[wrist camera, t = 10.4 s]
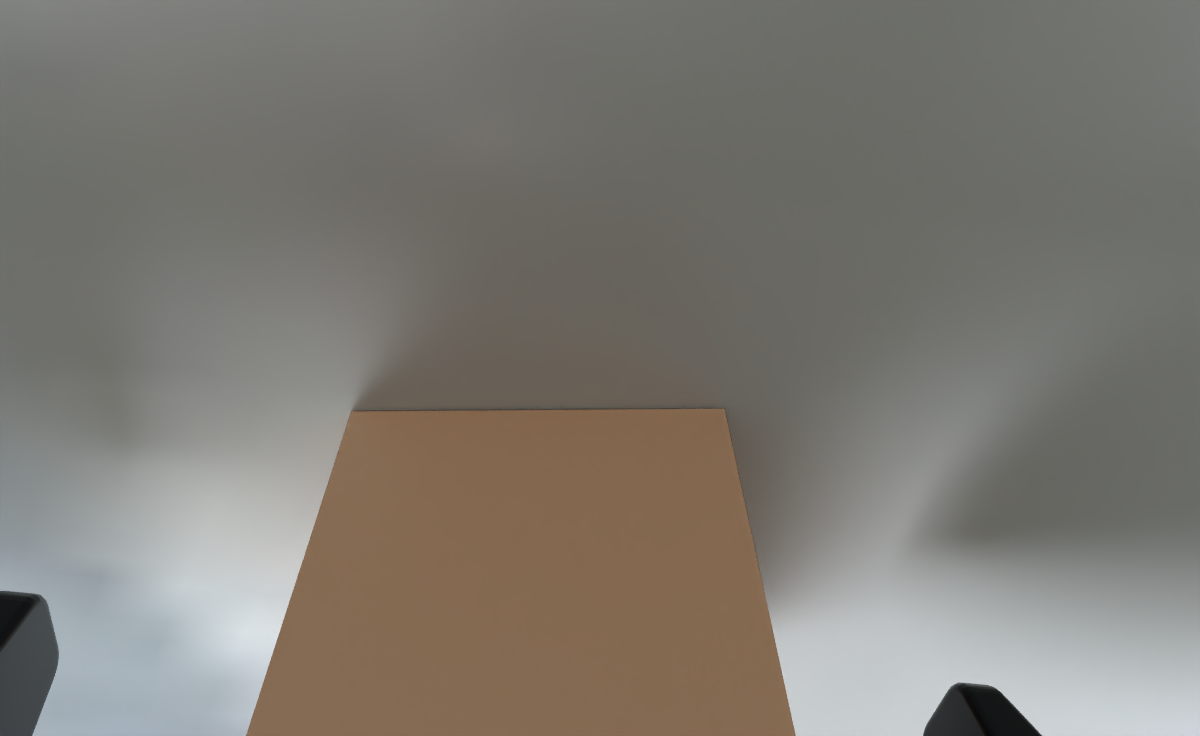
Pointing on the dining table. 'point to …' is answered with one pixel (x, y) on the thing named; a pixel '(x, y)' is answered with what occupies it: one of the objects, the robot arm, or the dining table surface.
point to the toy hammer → (529, 583)
